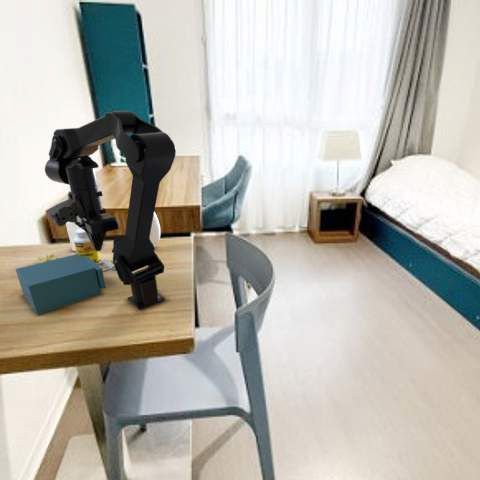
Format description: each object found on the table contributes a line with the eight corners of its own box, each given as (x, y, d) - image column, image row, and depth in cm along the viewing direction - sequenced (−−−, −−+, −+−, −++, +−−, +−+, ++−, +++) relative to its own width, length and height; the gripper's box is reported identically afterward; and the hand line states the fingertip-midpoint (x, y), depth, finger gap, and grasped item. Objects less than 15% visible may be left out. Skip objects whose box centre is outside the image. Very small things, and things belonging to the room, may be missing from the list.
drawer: (106, 269, 99) (102, 251, 97) (122, 282, 92) (119, 263, 90) (37, 289, 88) (30, 269, 86) (49, 305, 82) (43, 284, 79)
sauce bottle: (132, 247, 116) (122, 191, 108) (155, 242, 121) (147, 187, 113) (143, 255, 111) (133, 196, 103) (166, 248, 115) (159, 191, 107)
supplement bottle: (76, 268, 101) (68, 233, 97) (83, 260, 106) (75, 227, 102) (98, 267, 102) (90, 233, 98) (103, 259, 107) (96, 226, 103)
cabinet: (83, 278, 96) (77, 253, 93) (100, 294, 89) (94, 267, 85) (24, 295, 88) (15, 269, 84) (37, 314, 80) (28, 286, 77)
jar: (108, 244, 118) (100, 207, 113) (90, 253, 111) (82, 215, 106) (84, 241, 120) (76, 205, 115) (65, 250, 113) (56, 212, 108)
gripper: (33, 185, 85) (50, 248, 91) (58, 201, 73) (76, 272, 79) (83, 179, 92) (96, 238, 98) (114, 192, 80) (126, 258, 86)
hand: (98, 250), depth 90 cm, fingers closed
